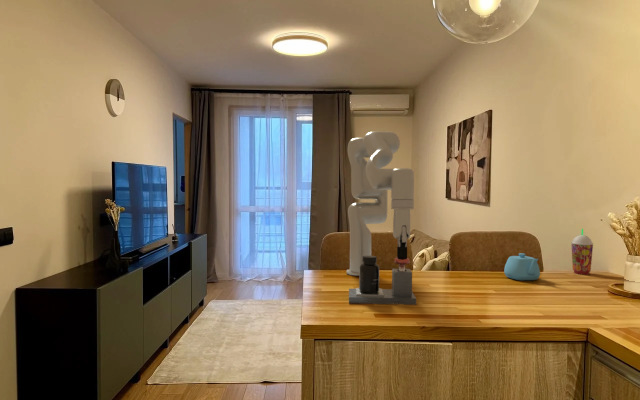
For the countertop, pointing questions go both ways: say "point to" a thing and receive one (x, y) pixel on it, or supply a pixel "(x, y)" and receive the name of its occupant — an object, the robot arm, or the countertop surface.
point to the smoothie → (582, 254)
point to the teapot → (522, 268)
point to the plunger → (402, 263)
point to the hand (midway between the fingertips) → (402, 258)
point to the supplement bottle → (369, 275)
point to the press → (388, 291)
